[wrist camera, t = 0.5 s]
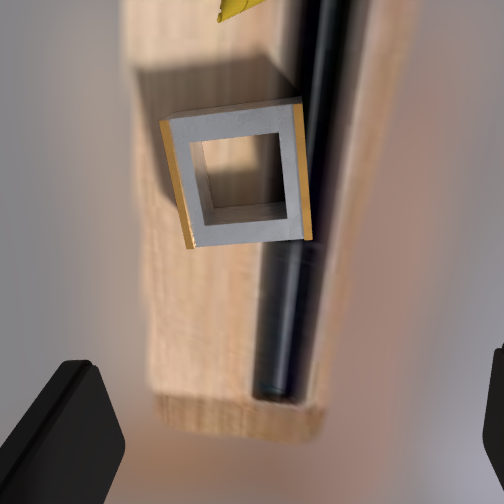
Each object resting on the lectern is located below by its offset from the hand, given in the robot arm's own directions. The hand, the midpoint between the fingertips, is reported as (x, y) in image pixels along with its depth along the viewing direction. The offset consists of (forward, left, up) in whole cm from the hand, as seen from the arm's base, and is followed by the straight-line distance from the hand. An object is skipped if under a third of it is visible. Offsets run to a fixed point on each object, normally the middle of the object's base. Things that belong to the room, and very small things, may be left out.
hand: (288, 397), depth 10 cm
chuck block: (+1, -4, -27) cm, 27 cm away
